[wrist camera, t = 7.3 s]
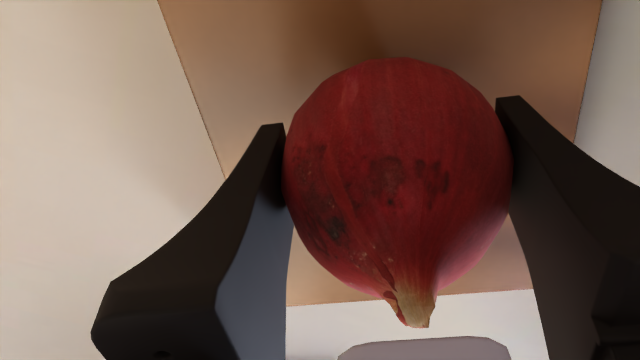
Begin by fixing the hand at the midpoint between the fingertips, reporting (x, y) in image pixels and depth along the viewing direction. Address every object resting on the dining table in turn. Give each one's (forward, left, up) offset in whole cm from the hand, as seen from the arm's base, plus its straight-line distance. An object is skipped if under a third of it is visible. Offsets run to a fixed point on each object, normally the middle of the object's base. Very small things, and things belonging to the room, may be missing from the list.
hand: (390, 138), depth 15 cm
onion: (0, 0, -2) cm, 2 cm away
